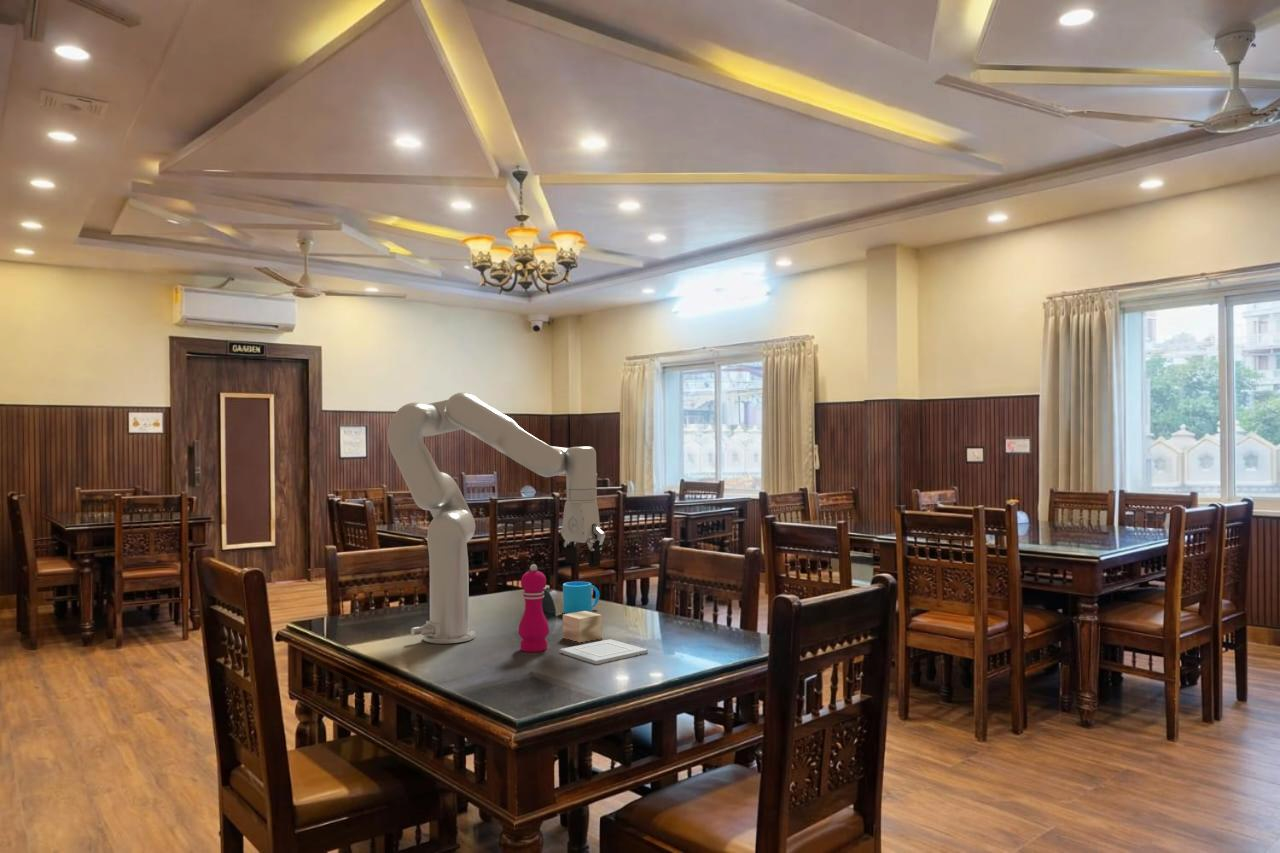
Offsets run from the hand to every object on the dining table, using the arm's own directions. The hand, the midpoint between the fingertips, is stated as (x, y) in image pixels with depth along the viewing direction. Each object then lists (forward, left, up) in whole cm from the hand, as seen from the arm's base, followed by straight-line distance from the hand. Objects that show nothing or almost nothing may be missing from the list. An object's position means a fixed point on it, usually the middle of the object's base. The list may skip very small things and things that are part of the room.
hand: (582, 564), depth 211 cm
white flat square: (-5, -15, -18) cm, 24 cm away
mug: (+20, +27, -19) cm, 38 cm away
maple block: (0, 0, -18) cm, 18 cm away
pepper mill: (-15, -1, -19) cm, 24 cm away
